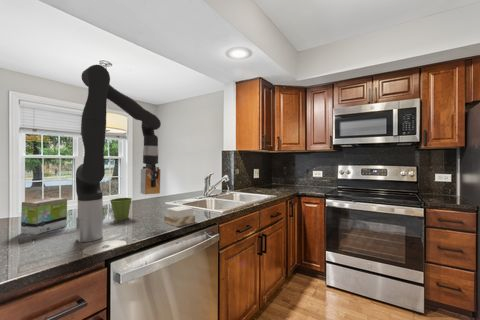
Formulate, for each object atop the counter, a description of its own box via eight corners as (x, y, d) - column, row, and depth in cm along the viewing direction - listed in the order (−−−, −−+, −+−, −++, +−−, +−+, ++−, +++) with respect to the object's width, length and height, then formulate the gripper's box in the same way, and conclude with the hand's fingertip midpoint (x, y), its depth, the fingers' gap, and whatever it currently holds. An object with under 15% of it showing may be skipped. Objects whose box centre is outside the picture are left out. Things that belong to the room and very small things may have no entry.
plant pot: (112, 217, 142) (112, 198, 142) (133, 215, 146) (133, 197, 146) (107, 222, 131) (107, 201, 131) (130, 220, 134) (130, 200, 134)
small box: (145, 194, 120) (145, 169, 120) (140, 193, 124) (140, 168, 125) (160, 193, 125) (160, 168, 126) (155, 192, 130) (155, 168, 130)
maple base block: (175, 227, 122) (175, 219, 122) (164, 222, 131) (164, 215, 131) (195, 222, 131) (195, 215, 131) (183, 219, 139) (183, 212, 139)
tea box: (37, 235, 108) (37, 202, 108) (20, 233, 110) (20, 202, 110) (67, 226, 123) (67, 197, 123) (51, 224, 125) (51, 196, 125)
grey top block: (177, 218, 124) (177, 211, 124) (167, 215, 131) (167, 208, 131) (193, 215, 131) (193, 208, 131) (182, 212, 138) (182, 205, 138)
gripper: (137, 154, 127) (137, 185, 127) (149, 154, 117) (149, 188, 117) (151, 155, 133) (151, 185, 133) (164, 154, 123) (163, 187, 123)
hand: (150, 186), depth 125 cm, fingers closed on small box, 6 cm apart
